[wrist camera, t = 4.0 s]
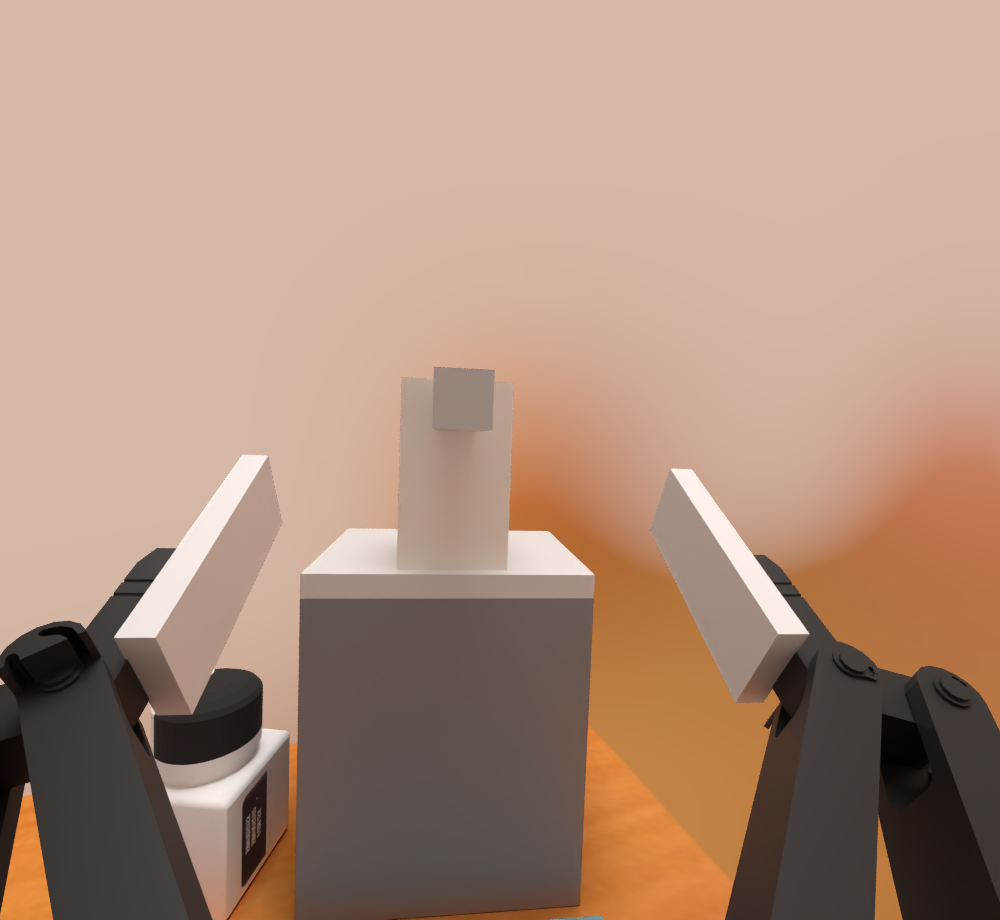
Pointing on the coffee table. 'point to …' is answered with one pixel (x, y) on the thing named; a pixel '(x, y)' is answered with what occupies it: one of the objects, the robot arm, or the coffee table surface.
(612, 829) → the coffee table surface
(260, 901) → the coffee table surface
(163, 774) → the container
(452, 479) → the tall white block
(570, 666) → the stand
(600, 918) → the mat
